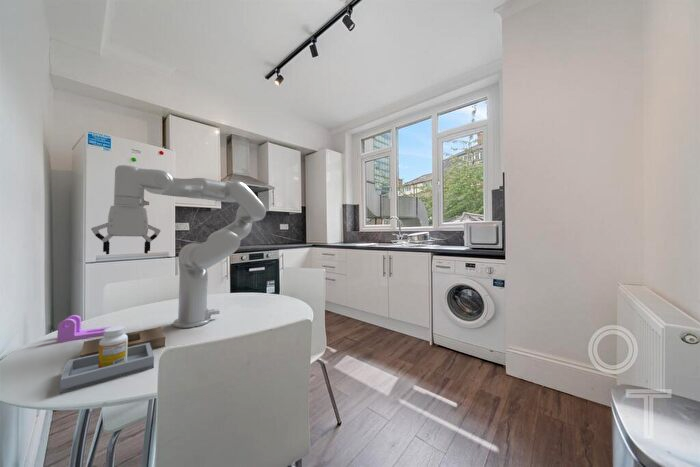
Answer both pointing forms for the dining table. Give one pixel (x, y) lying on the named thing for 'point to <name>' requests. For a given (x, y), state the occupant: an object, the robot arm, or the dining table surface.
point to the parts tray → (105, 368)
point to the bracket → (76, 330)
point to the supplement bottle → (113, 347)
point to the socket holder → (129, 341)
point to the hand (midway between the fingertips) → (127, 253)
